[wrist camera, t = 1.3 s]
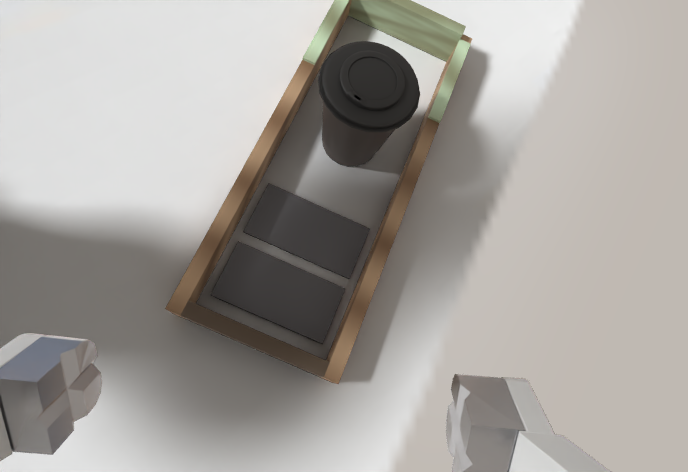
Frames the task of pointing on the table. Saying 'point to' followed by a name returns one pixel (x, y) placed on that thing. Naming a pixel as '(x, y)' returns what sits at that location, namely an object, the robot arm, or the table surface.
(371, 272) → the trap box
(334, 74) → the coffee cup
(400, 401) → the table surface
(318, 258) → the mats
